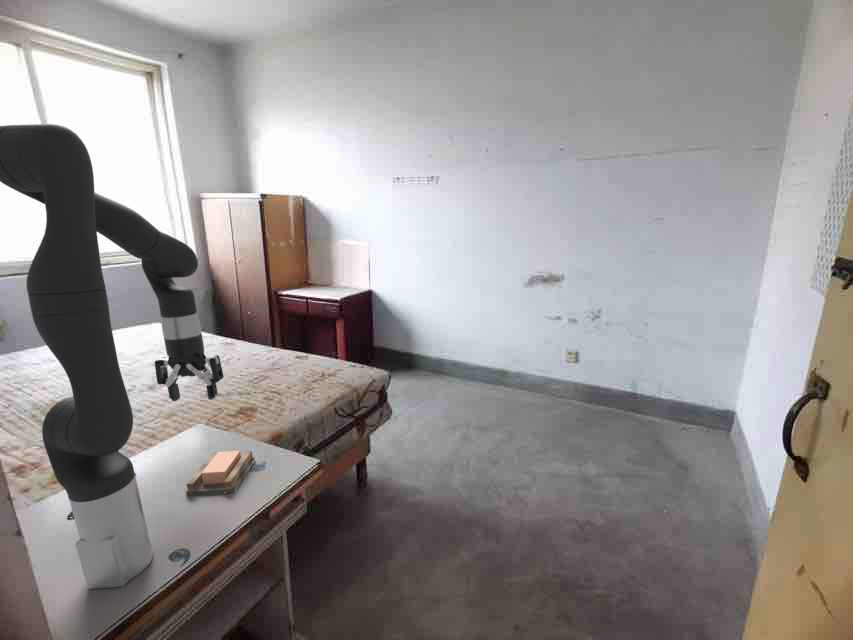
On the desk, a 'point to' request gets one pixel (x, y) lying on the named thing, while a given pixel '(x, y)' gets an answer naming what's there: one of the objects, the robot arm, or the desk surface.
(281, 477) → the desk surface
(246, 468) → the holder
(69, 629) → the desk surface
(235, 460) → the salmon pink block
